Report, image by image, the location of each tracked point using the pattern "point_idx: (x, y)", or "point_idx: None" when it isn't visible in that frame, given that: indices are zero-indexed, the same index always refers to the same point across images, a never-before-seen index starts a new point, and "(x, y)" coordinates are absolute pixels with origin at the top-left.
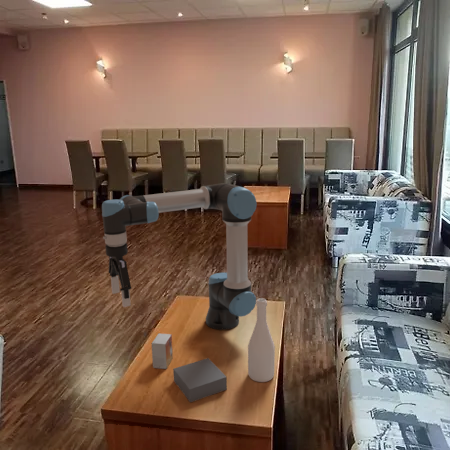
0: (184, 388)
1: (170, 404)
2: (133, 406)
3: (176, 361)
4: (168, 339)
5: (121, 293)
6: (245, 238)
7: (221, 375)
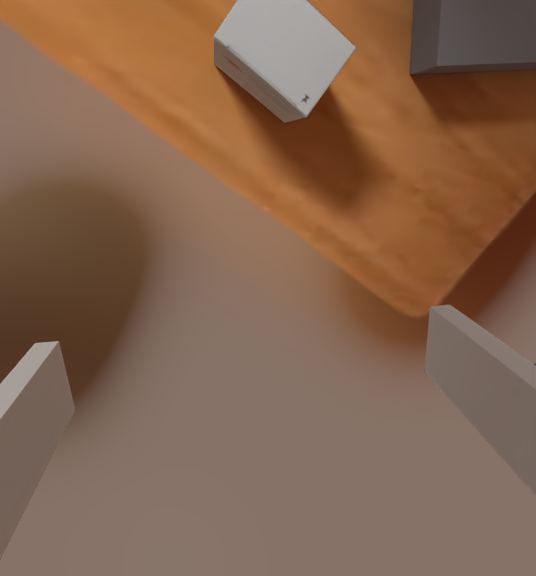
0: (527, 66)
1: (518, 138)
2: (457, 250)
3: None
4: (313, 6)
5: (508, 465)
6: None
7: None
